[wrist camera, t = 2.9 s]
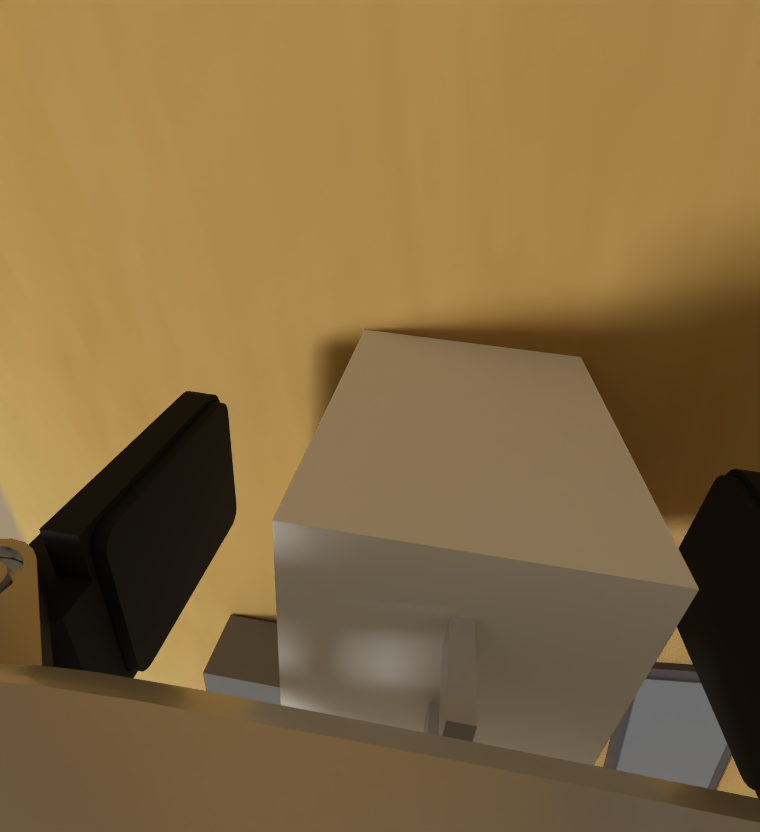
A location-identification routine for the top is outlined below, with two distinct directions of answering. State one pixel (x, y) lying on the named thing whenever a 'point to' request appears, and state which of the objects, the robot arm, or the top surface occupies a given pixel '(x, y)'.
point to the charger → (472, 552)
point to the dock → (246, 661)
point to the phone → (670, 731)
